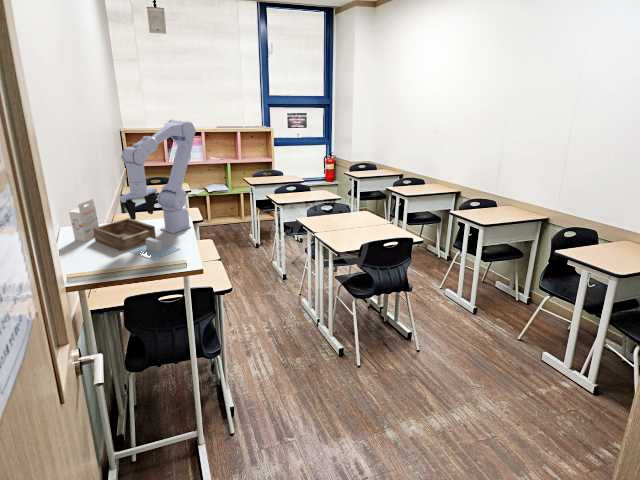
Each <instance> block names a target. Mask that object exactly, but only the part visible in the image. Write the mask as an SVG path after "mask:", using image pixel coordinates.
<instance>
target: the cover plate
mask: <svg viewBox="0 0 640 480" xmlns="http://www.w3.org/2000/svg"><path fill="white" fill-rule="evenodd" d="M145 241H146V243H145V244H142V245H139V246H138V247H134V248H133V249H130V250H128V253H130V254H134V255H136V254H137V255H136V256H139V255H141V254H142V253H143V252H144V253H143V254H145V253H146V252H147V255H148V256H150V255H151V257H150V258H149V259H148V260H151V259H152V260H151V261H156V259H157V260H159V259H161V258H163V257H166V256H168V255H170V254H171V255H172V254H173V253H175V252H178V251H180V250H181V248H178V247H176V246H173V245H169V244H167V243H164V242H162V240H159V239H157V238H156V239H154V238H150V237H149V238H147V239H145ZM141 251H142V252H141ZM140 253H141V254H140ZM142 256H143V255H142ZM142 256H141V257H142Z"/></svg>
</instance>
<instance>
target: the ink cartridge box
mask: <svg viewBox="0 0 640 480" xmlns="http://www.w3.org/2000/svg"><path fill="white" fill-rule="evenodd" d="M68 212H69V213H68V215H69V217H70V221H71V227H72V228H71V229H72V232H73V236H74V238H73V239H74V241H77V242H88V241H90V240H92V239H93V238H95V236H94V230H93V228H96V227H99V226H100V225H99V220H98V215H97V209H96V206H95V201H94V199H93V198H91V199H89V200H86V201H83V202H81V203H78V205H77V208H75V209H73V210H71V211H68Z"/></svg>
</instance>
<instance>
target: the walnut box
mask: <svg viewBox="0 0 640 480" xmlns="http://www.w3.org/2000/svg"><path fill="white" fill-rule="evenodd" d="M93 230H94V236H95V237H94V241H95V242H97V243H99V244H102V245H105V246H106V247H109V248H113V249H114V250H118V251H120V252H122V251H125V250H129V249H131V248H136V247H137V246H141V245H144V244H146V241H145V239H147V238H149V237H150V238H154V239H157V237H156V228H155V226H154V225H150V224H148V223H146V222H141V221H138V220H136V219H135V220H133V219H131V218H130V217H127V218H124V219H121V220H117V221H114V222H110V223H107V224H103V225H99V227H96V228H93Z"/></svg>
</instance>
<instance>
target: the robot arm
mask: <svg viewBox="0 0 640 480" xmlns="http://www.w3.org/2000/svg"><path fill="white" fill-rule="evenodd" d="M195 135H196V128H195V126H194V124H193V122H192V121H189V120H186V121H185V120H184V121H183V120H176V119H169V120H168V121H166V122H165V123H164V126H163V127H161V128H160V129H159V130H158V131H157V132H155V133H154V134H153V135H152V136H150V135H147V136H146V135H144V136H143V137H142V139H140V140H139V141H138V142H136V143H133V145H132V146H127V147H125V148H124V149H123V150H122V153H121V157H120V158H121V160H122V162H123V163H124V165H125V168H126V172H127V177H128V178H127V179H128V185H129V186H128V187H129V192H128V193H126V194H124V195H120V196H119V201H120V202H121V204H122V206H123V207H124V208H125V209H126V211H127V213H128V215H129V218H130V219H133V220H136V219H137V217H136V204H137V203H136V202H134V201H133V200H136V199H140V198H144V201H145V204H146V210H147V211H146V212H147V213H148V214H149V215H153V214H154V211H155V210H154V209H155V205H156V201H157V203H158V205H159V206H161V209H162V211H163V212H162V213H163V219H164V220H163V221H164V226H163V227H160V230H162V231H165V232H168V233H170V234H176V233H178V232H181V231H184V230H187V229H189V228H192V226H191V225H190V218H189V216H190V215H189V211H188V208H187V207H186V206H185V205H186V195H187V192H186V191H185V190H184V188H183V184H184V181H185V180H184V179H185V176H186V172H187V169H188V165H189V161H190V157H191V153H192V151H193V147H194V146H193V145H194V144H193V143H194V139H195ZM169 138H171V139H172V140H173V142H174V143H176V145H177V148H176V152H175V156H174V159H173V162H172V168H171V170H170V174H169V179H168V181H167V183H165V184H164V185H163V186H162V187H161V191H160V192H159V193H158V188H155V187H152V188H147V181H146V180H147V179H146V171H145V163H146V161H147V160H148V159H147V158H148V157H149V156H150V155H151V154H152V153H155V151H157V150H158V148H159V144H161V143H163V142H164V141H166V140H168V139H169Z"/></svg>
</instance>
